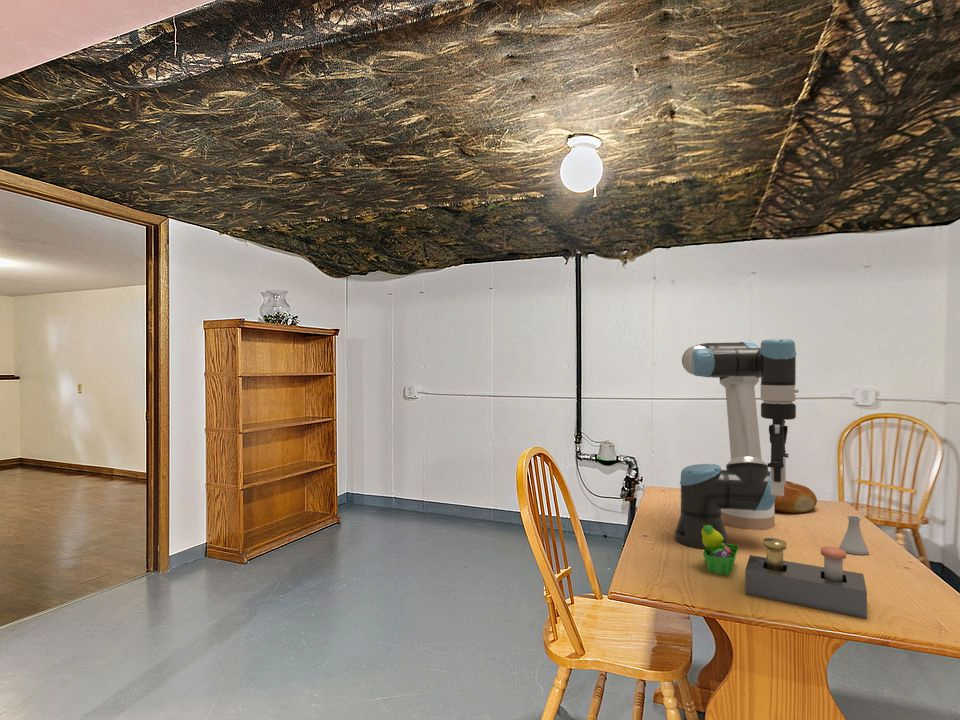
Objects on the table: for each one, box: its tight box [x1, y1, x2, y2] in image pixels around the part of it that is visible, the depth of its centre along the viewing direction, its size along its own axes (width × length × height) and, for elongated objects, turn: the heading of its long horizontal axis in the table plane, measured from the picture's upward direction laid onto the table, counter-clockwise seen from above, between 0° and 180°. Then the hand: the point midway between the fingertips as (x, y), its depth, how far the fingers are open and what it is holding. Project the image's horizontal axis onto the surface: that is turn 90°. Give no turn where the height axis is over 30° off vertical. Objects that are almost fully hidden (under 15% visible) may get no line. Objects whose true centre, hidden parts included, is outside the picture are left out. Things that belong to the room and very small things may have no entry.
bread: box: [774, 480, 818, 514], centre depth 206 cm, size 23×23×10 cm
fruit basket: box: [701, 525, 740, 576], centre depth 149 cm, size 11×9×11 cm
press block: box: [744, 554, 868, 619], centre depth 130 cm, size 24×11×6 cm, turn 58°
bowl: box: [721, 504, 776, 531], centre depth 188 cm, size 17×17×8 cm
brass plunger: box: [762, 537, 788, 572], centre depth 134 cm, size 5×5×8 cm
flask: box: [839, 515, 870, 556], centre depth 160 cm, size 7×7×10 cm
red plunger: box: [820, 545, 847, 582], centre depth 127 cm, size 5×5×8 cm
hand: (778, 489), depth 134 cm, fingers open, 13 cm apart
